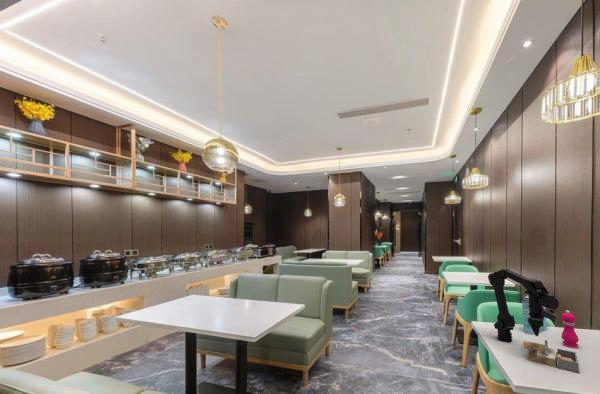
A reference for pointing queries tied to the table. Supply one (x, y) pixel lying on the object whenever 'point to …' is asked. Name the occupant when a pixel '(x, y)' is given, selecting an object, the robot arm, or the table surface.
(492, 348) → the table surface
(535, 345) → the scraper
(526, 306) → the gum box
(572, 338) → the pepper mill
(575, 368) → the box
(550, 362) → the bench
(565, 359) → the tile
